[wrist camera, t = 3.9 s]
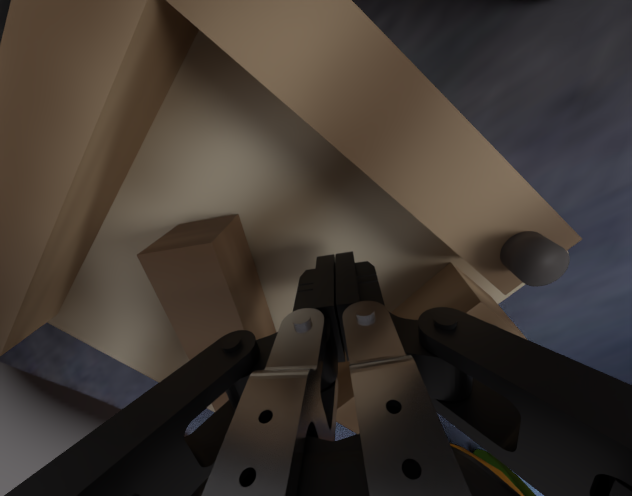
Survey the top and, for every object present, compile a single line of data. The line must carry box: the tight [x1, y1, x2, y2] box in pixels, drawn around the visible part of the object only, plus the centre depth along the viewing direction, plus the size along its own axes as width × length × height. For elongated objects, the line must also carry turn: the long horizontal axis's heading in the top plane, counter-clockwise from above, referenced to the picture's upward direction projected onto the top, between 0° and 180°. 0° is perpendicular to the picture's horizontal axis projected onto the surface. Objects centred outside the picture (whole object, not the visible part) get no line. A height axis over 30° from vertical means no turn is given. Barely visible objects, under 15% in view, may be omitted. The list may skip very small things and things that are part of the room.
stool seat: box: [0, 0, 582, 434], centre depth 13 cm, size 20×20×6 cm
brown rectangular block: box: [137, 214, 276, 412], centre depth 14 cm, size 15×3×4 cm, turn 11°
